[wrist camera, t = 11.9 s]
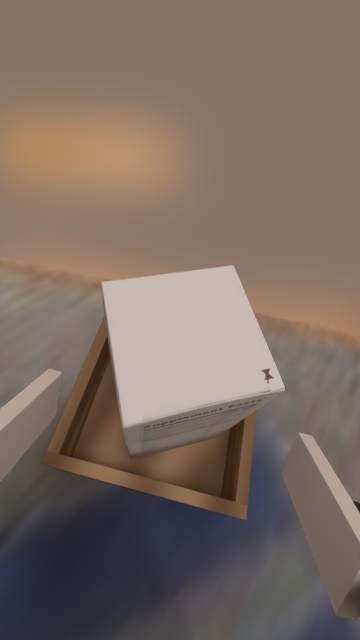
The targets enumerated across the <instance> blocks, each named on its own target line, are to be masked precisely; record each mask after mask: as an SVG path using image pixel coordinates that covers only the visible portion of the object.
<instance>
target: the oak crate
mask: <svg viewBox="0 0 360 640" xmlns="http://www.w3.org/2000/svg"><path fill="white" fill-rule="evenodd" d="M256 412H257V410H256V411H254V412H253V413H251V414H250V415H248V416H247V417H245V418H244V419H242V420H241V421H240V422H238V423H237V424H235V425H234V426H232V427H231V428H229V429H228V430H227V431H225V432H224V433H222V434H221V435H219V436H218V437H215V438H212V439H208V440H205V441H201V442H197V443H193V444H190V445H186V446H182V447H178V448H174V449H171V450H167V451H163V452H159V453H156V454H152V455H148V456H144V457H140V458H135V459H131V458H130V456H129V452H128V447H127V446H126V442H125V437H124V434H123V430H122V426H121V419H120V413H119V407H118V401H117V395H116V389H115V383H114V377H113V370H112V364H111V357H110V351H109V344H108V336H107V329H106V321H105V317H104V319H103V321H102V324H101V326H100V328H99V331H98V333H97V335H96V338H95V340H94V342H93V345H92V347H91V349H90V351H89V354H88V356H87V358H86V361H85V363H84V365H83V368H82V370H81V372H80V375H79V377H78V379H77V381H76V384H75V386H74V388H73V391H72V393H71V395H70V398H69V400H68V402H67V405H66V407H65V409H64V411H63V414H62V416H61V418H60V421H59V423H58V425H57V428H56V430H55V432H54V435H53V437H52V439H51V441H50V444H49V446H48V448H47V451H46V453H45V455H44V458H43V460H42V462H41V464H42V465H46V466H49V467H53V468H56V469H60V470H63V471H67V472H71V473H74V474H78V475H82V476H85V477H89V478H93V479H96V480H100V481H104V482H107V483H111V484H115V485H118V486H122V487H126V488H129V489H133V490H137V491H140V492H144V493H148V494H151V495H155V496H159V497H162V498H166V499H170V500H173V501H177V502H181V503H184V504H188V505H192V506H195V507H199V508H203V509H206V510H210V511H214V512H217V513H221V514H225V515H228V516H232V517H236V518H240V519H244V520H246V517H247V507H248V496H249V486H250V475H251V465H252V454H253V444H254V433H255V423H256Z"/></svg>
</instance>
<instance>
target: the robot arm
mask: <svg viewBox="0 0 360 640" xmlns="http://www.w3.org/2000/svg"><path fill="white" fill-rule="evenodd" d="M62 373H63V372H60V371H56V370H52V369H48V370H47V371H45V372H44V373H43V374H42V375H41V376H39V377H38V378H37V379H36V380H35V381H33V382H32V383H31V384H30V385H29V386H27V387H26V388H25V389H24V390H23V391H21V392H20V393H19V394H18V395H16V396H15V397H14V398H13V399H12V400H10V401H9V402H8V403H7V404H6V405H4V406H3V407H2V408H1V409H0V483H1V481H2V480H3V479H4V478H5V477H6V475H7V474H8V473H9V472H10V471H11V469H12V468H13V467H14V466H15V465H16V463H17V462H18V461H19V460H20V458H21V457H22V456H23V455H24V454H25V452H26V451H27V450H28V449H29V448H30V446H31V445H32V444H33V443H34V442H35V440H36V439H37V438H38V437H39V436H40V434H41V433H42V432H43V431H44V430H45V428H46V427H47V426H48V425H49V423H50V422H51V421H52V420H53V419H54V417H55V415H56V409H57V403H58V397H59V391H60V385H61V379H62ZM282 476H283V479H284V481H285V484H286V486H287V489H288V492H289V494H290V497H291V500H292V502H293V505H294V507H295V510H296V513H297V515H298V518H299V521H300V523H301V526H302V528H303V531H304V534H305V536H306V539H307V541H308V544H309V547H310V549H311V552H312V555H313V557H314V560H315V562H316V565H317V568H318V570H319V573H320V575H321V578H322V581H323V583H324V586H325V589H326V591H327V594H328V596H329V599H330V602H331V604H332V607H333V609H334V612H335V615H338V616H342V617H346V618H350V619H354V620H357V619H358V617H359V615H360V503H358V502H354V501H352V500H351V498H350V496H349V495H348V493H347V492H346V490H345V488H344V487H343V485H342V483H341V482H340V480H339V479H338V477H337V475H336V474H335V472H334V471H333V469H332V467H331V466H330V464H329V463H328V461H327V459H326V458H325V456H324V454H323V453H322V451H321V450H320V448H319V446H318V445H317V443H316V442H315V440H314V438H313V437H312V436H311V435H307V434H303V433H299V432H298V434H297V437H296V439H295V442H294V444H293V447H292V449H291V452H290V454H289V457H288V459H287V462H286V464H285V467H284V469H283V472H282Z"/></svg>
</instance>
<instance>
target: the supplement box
mask: <svg viewBox="0 0 360 640" xmlns="http://www.w3.org/2000/svg"><path fill="white" fill-rule="evenodd" d="M101 288H102V296H103V305H104V313H105V321H106V329H107V336H108V344H109V351H110V357H111V364H112V370H113V377H114V383H115V389H116V395H117V401H118V407H119V413H120V419H121V426H122V430H123V434H124V437H125V442H126V446H127V447H128V452H129V456H130V458H131V459H135V458H140V457H144V456H148V455H152V454H156V453H159V452H163V451H167V450H171V449H174V448H178V447H182V446H186V445H190V444H193V443H197V442H201V441H205V440H208V439H212V438H215V437H218V436H219V435H221V434H222V433H224V432H225V431H227V430H228V429H229V428H231V427H232V426H234V425H235V424H237V423H238V422H240V421H241V420H242V419H244V418H245V417H247V416H248V415H250V414H251V413H253V412H254V411H256V410H257V409H259V408H260V407H262V406H263V405H265V404H266V403H268V402H269V401H271V400H272V399H274V398H275V397H277V396H278V395H279V394H281V393H282V392H284V391H285V387H284V384H283V382H282V379H281V377H280V374H279V372H278V370H277V367H276V365H275V362H274V360H273V358H272V355H271V353H270V351H269V348H268V346H267V343H266V341H265V339H264V336H263V334H262V332H261V329H260V327H259V325H258V322H257V320H256V317H255V315H254V313H253V310H252V308H251V306H250V303H249V301H248V299H247V296H246V294H245V291H244V289H243V287H242V284H241V282H240V279H239V277H238V275H237V273H236V271H235V268H234V266H233V265H230V266H224V267H217V268H209V269H201V270H193V271H185V272H177V273H170V274H161V275H154V276H147V277H139V278H131V279H123V280H114V281H105V282H101Z"/></svg>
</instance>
